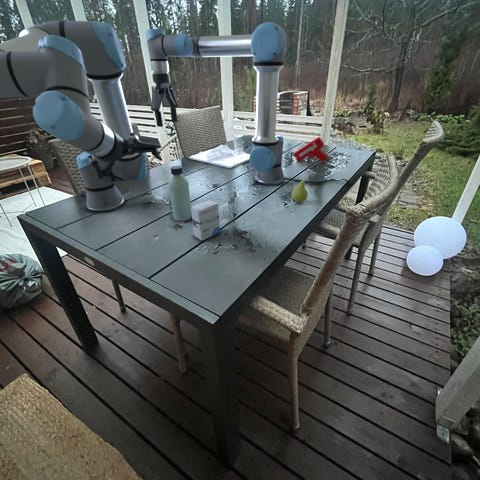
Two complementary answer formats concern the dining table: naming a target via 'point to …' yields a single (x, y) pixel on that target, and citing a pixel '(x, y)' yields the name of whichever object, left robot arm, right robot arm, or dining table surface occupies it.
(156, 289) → the dining table surface
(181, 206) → the bottle
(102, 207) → the left robot arm
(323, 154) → the toy gun
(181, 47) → the right robot arm
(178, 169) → the cap
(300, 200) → the fruit
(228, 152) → the relief map
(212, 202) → the ink box
